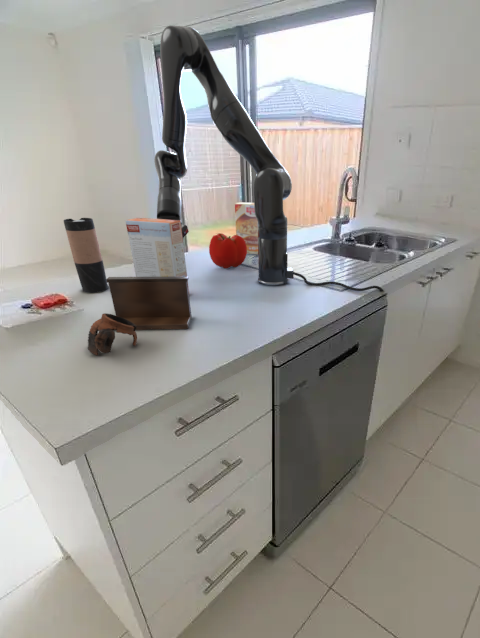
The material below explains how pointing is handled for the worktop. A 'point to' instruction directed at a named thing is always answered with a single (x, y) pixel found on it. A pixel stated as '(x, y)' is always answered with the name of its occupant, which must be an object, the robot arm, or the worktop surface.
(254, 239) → the coffeecake box
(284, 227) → the robot arm
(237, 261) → the tomato
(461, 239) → the worktop surface
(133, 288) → the walnut backstop
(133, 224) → the cracker box
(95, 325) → the brown arched piece
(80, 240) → the travel mug
